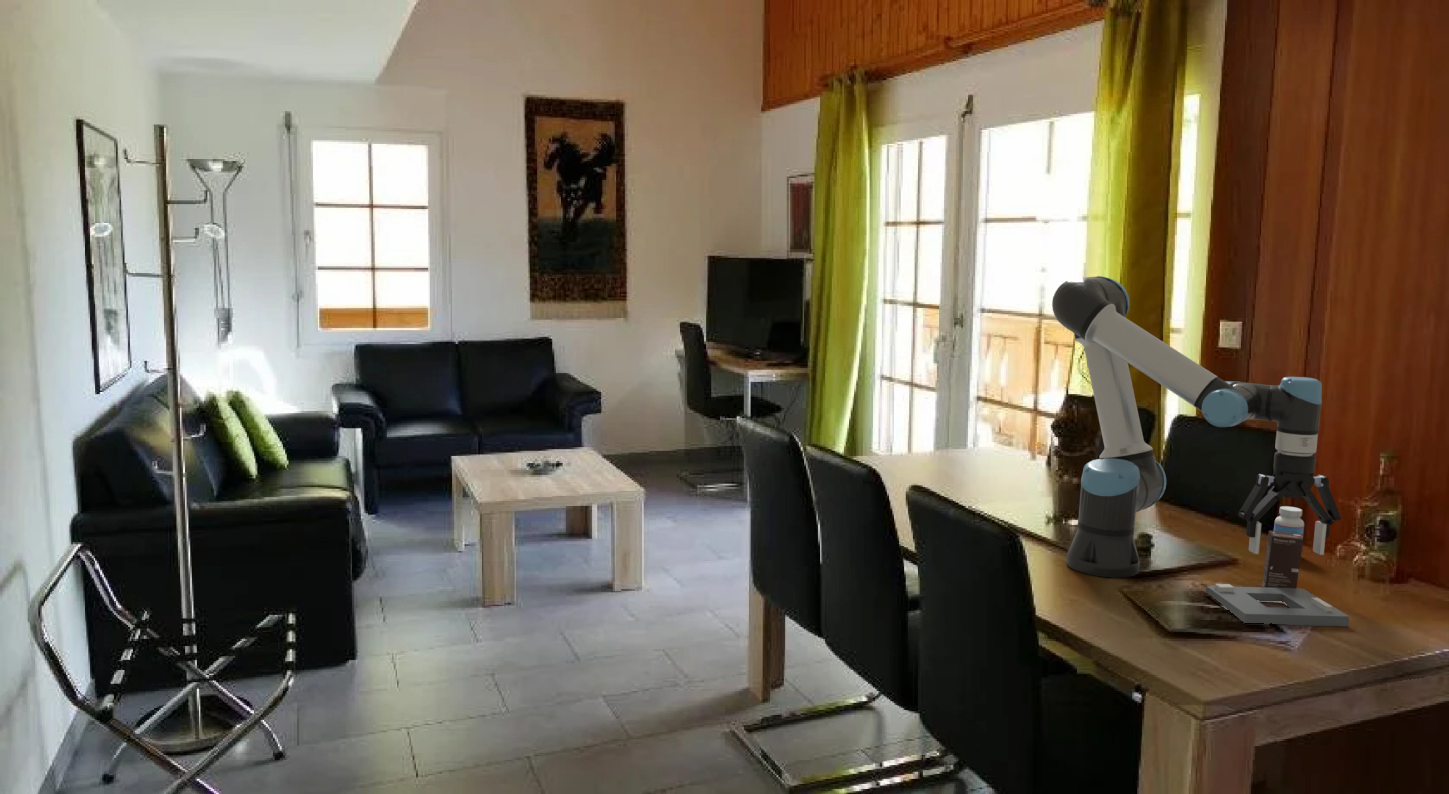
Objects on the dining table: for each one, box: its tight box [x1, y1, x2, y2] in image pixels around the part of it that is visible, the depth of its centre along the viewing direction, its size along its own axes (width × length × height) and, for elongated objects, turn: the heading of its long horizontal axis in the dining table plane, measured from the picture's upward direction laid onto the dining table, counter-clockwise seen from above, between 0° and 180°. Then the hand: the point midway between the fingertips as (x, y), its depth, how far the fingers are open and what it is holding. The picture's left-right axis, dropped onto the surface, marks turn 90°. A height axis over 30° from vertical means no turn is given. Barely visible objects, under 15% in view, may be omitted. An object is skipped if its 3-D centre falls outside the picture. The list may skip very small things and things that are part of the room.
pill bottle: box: [1273, 505, 1305, 538], centre depth 247 cm, size 6×6×11 cm
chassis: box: [1205, 583, 1350, 627], centre depth 210 cm, size 20×16×3 cm
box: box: [1261, 530, 1304, 588], centre depth 222 cm, size 6×4×12 cm
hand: (1285, 552), depth 221 cm, fingers open, 13 cm apart
